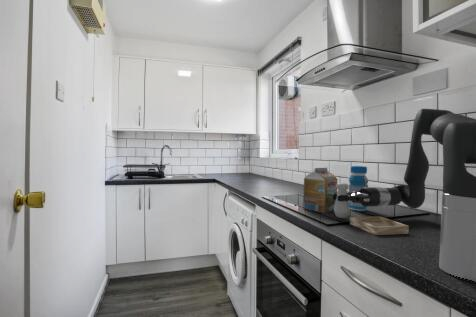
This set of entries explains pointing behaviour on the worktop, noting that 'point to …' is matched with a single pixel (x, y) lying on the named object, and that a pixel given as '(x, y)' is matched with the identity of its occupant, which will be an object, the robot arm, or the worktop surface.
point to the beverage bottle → (357, 185)
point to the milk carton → (319, 190)
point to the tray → (379, 225)
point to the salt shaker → (342, 202)
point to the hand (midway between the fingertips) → (335, 197)
